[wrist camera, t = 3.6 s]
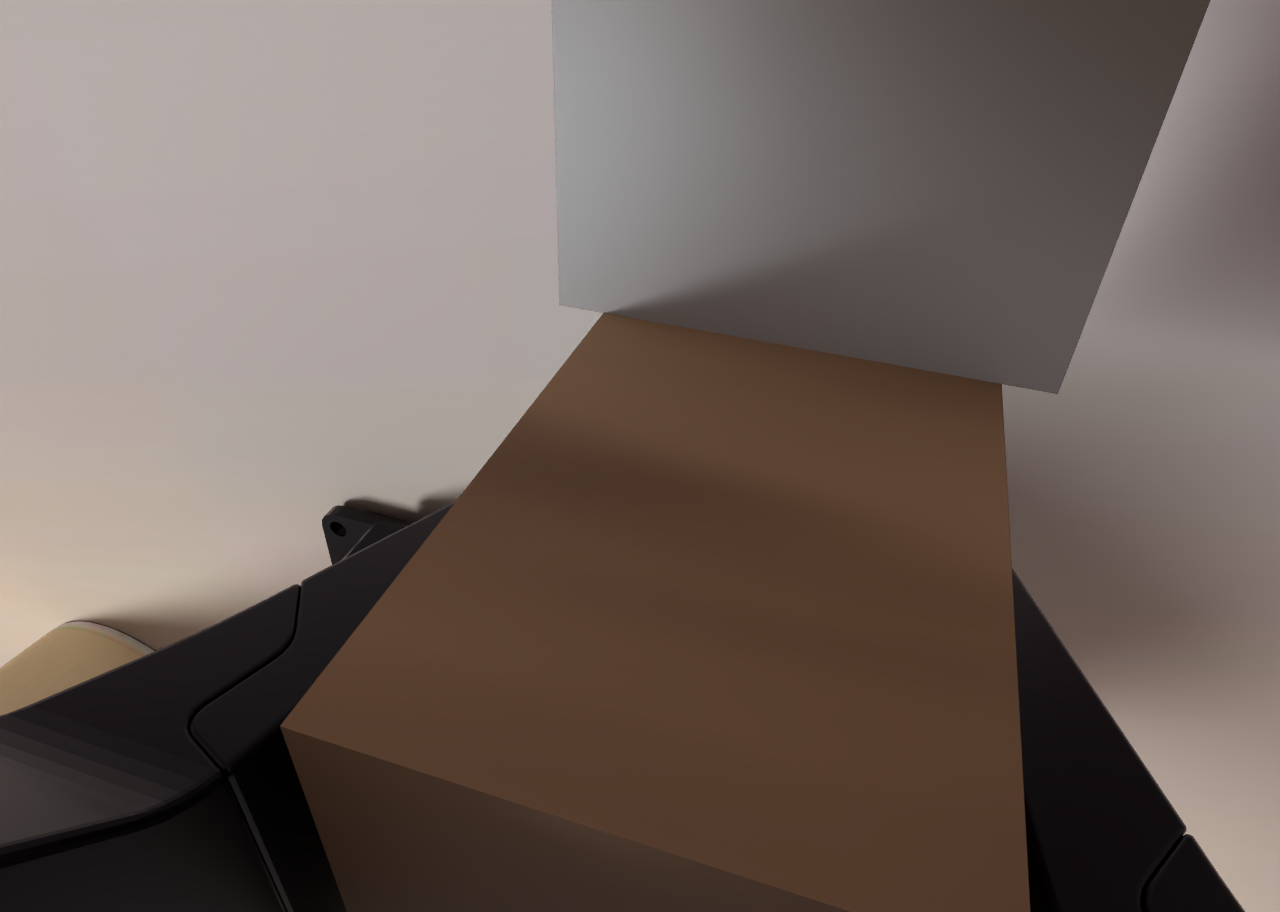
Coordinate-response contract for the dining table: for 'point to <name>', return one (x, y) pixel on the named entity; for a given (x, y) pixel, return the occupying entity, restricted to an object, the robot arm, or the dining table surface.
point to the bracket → (754, 474)
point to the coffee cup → (64, 662)
